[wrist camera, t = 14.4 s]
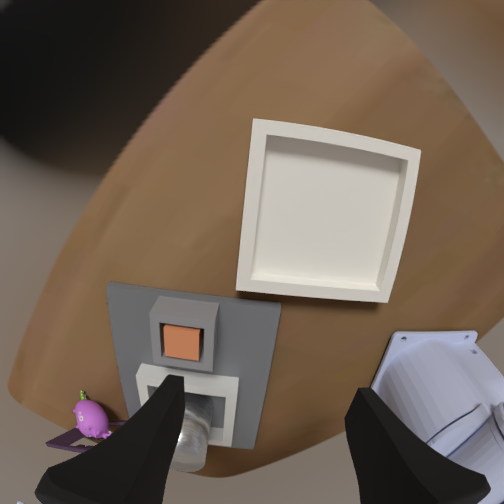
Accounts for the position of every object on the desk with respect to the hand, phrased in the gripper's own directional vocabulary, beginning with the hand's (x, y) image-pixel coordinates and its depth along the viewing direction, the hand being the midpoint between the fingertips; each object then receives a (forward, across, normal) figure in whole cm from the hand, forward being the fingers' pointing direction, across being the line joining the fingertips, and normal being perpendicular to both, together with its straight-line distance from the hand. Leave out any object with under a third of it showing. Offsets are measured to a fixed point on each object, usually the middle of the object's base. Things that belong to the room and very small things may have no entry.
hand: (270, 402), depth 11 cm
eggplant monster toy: (+9, +14, +15) cm, 23 cm away
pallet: (+9, +5, +8) cm, 14 cm away
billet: (+9, +5, +10) cm, 14 cm away
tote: (+9, -3, -6) cm, 12 cm away
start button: (+8, +5, +2) cm, 10 cm away
